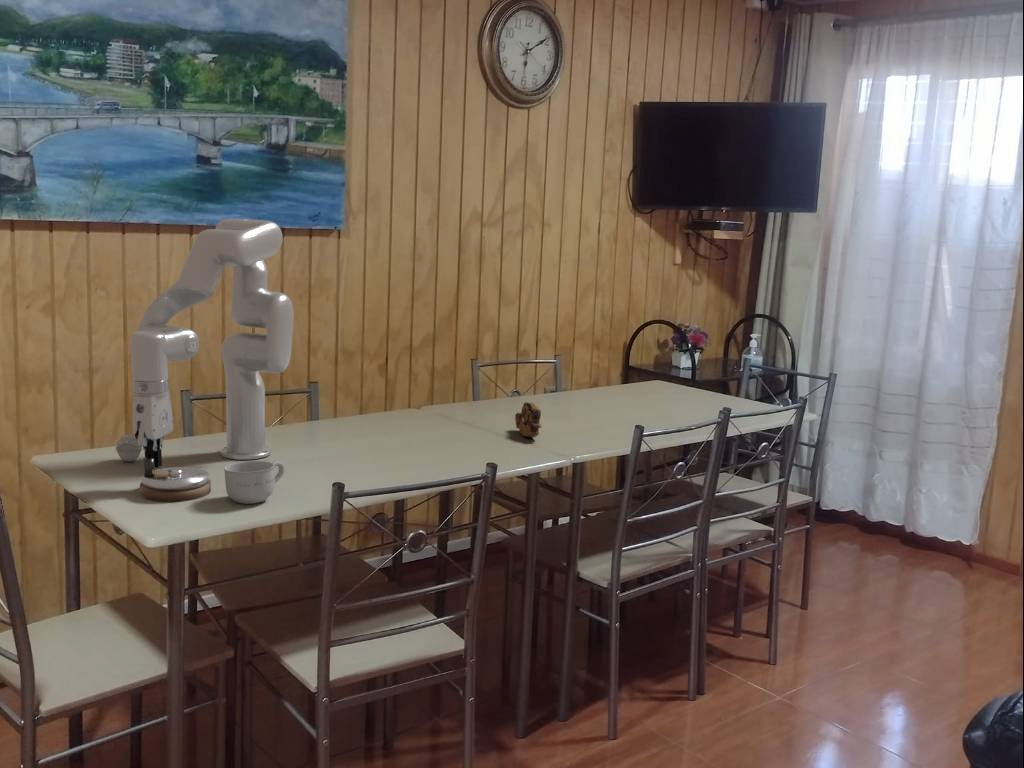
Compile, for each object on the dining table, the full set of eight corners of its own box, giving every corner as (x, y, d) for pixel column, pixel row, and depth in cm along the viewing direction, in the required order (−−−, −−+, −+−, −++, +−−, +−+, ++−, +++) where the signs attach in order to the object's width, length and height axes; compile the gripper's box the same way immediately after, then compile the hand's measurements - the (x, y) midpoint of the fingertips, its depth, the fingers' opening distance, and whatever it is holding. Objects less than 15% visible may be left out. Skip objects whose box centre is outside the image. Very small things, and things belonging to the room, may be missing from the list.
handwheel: (138, 491, 213) (138, 467, 212) (145, 474, 226) (145, 450, 225) (206, 489, 216) (206, 465, 215) (209, 472, 230) (209, 449, 229)
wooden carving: (508, 430, 296) (510, 397, 294) (522, 429, 298) (524, 397, 296) (531, 443, 281) (533, 409, 279) (546, 442, 283) (547, 408, 281)
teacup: (235, 510, 211) (234, 474, 209) (217, 497, 220) (216, 462, 218) (296, 501, 219) (296, 466, 218) (276, 488, 228) (276, 454, 226)
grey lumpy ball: (113, 465, 241) (112, 437, 239) (118, 458, 247) (118, 430, 246) (140, 465, 242) (139, 437, 240) (144, 457, 248) (144, 430, 247)
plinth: (141, 484, 226) (141, 475, 226) (209, 481, 231) (209, 472, 231) (138, 503, 212) (138, 494, 212) (211, 499, 217) (211, 491, 217)
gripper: (149, 394, 211) (152, 477, 215) (182, 381, 226) (185, 459, 230) (116, 392, 212) (120, 474, 216) (151, 379, 227) (154, 456, 231)
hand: (153, 466), depth 223 cm, fingers closed
